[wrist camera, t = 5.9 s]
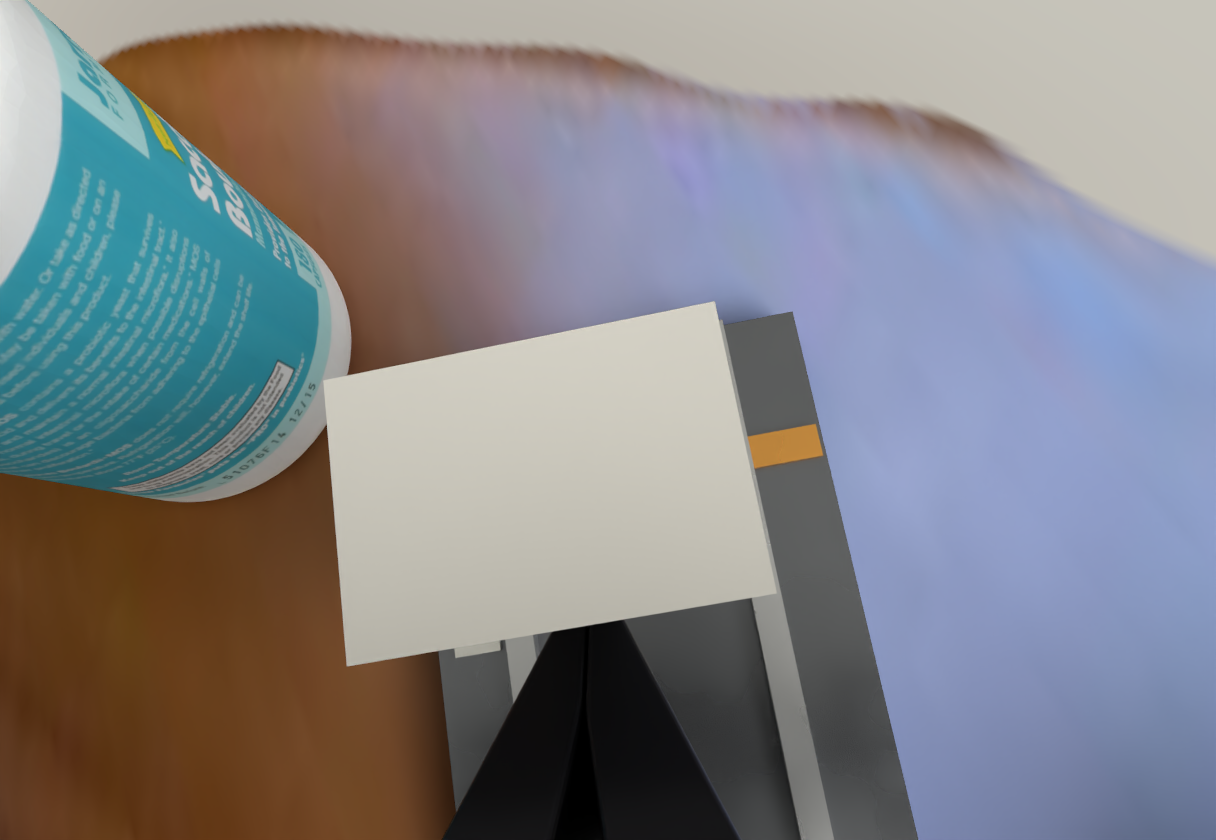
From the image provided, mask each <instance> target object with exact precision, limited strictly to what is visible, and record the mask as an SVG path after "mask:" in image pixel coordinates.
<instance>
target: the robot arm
mask: <svg viewBox="0 0 1216 840" xmlns="http://www.w3.org/2000/svg"><path fill="white" fill-rule="evenodd" d="M442 840H741V838H740V836H739V834H738V832H737V830H736V828H735V827H734V825H733V823H732V821H731V819H730V817H729V815H728V813H727V811H726V810H725V808H724V806H723V804H722V802H721V800H720V798H719V796H718V795H717V793H716V791H715V789H714V787H713V785H712V783H711V781H710V779H709V778H708V776H707V774H706V772H705V770H704V768H703V766H702V764H701V763H700V761H699V759H698V757H697V755H696V753H695V751H694V749H693V747H692V746H691V744H690V742H689V740H688V738H687V736H686V734H685V732H684V731H683V729H682V727H681V725H680V723H679V721H678V719H677V717H676V715H675V714H674V712H673V710H672V708H671V706H670V704H669V702H668V700H667V699H666V697H665V695H664V693H663V691H662V689H661V687H660V685H659V683H658V682H657V680H656V678H655V676H654V674H653V672H652V670H651V668H650V667H649V665H648V663H647V661H646V659H645V657H644V655H643V653H642V651H641V650H640V648H639V646H638V644H637V642H636V640H635V638H634V636H633V635H632V633H631V631H630V629H629V627H628V625H627V623H626V621H625V620H624V619H623V620H617V621H612V622H606V623H600V624H594V625H588V626H582V627H576V628H570V629H564V630H559V631H553V632H551V633H550V635H549V637H548V639H547V641H546V643H545V645H544V646H543V648H542V650H541V652H540V654H539V656H538V658H537V660H536V662H535V664H534V665H533V667H532V669H531V671H530V673H529V675H528V677H527V679H526V681H525V683H524V684H523V686H522V688H521V690H520V692H519V694H518V696H517V698H516V700H515V702H514V703H513V705H512V707H511V709H510V711H509V713H508V715H507V717H506V719H505V720H504V722H503V724H502V726H501V728H500V730H499V732H498V734H497V736H496V738H495V739H494V741H493V743H492V745H491V747H490V749H489V751H488V753H487V755H486V757H485V758H484V760H483V762H482V764H481V766H480V768H479V770H478V772H477V774H476V776H475V777H474V779H473V781H472V783H471V785H470V787H469V789H468V791H467V793H466V794H465V796H464V798H463V800H462V802H461V804H460V806H459V808H458V810H457V812H456V813H455V815H454V817H453V819H452V821H451V823H450V825H449V827H448V829H447V831H446V832H445V834H444V836H443V838H442Z"/></svg>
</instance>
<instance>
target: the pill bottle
mask: <svg viewBox="0 0 1216 840" xmlns="http://www.w3.org/2000/svg"><path fill="white" fill-rule="evenodd" d="M350 356H351V327H350V320H349V315H348V311H347V307H346V303H345V300H344V297H343V295H342V292H341V290H340V288H339V286H338V283H337V282H336V280H335V278H334V276H333V274H332V273H331V271H330V270H329V268H328V267H327V265H326V264H325V263H324V261H323V260H322V259H321V258H320V257H319V255H318V254H317V253H316V252H315V251H314V250H313V249H312V248H311V247H310V246H309V245H308V244H307V243H306V242H305V241H303V240H302V239H301V238H300V237H299V236H298V235H297V234H295V233H294V232H293V231H292V230H291V229H290V228H289V227H288V226H287V225H285V224H284V223H283V222H282V221H281V220H280V219H279V218H277V217H276V216H275V215H274V214H273V213H271V212H270V211H269V210H268V209H267V208H265V207H264V206H263V205H262V204H261V203H260V202H259V201H257V200H256V199H255V198H254V197H253V196H252V195H251V194H249V193H248V192H247V191H246V190H245V189H244V188H243V187H241V186H240V185H239V184H238V183H237V182H235V181H234V180H233V179H232V178H231V177H229V176H228V175H227V174H226V173H225V172H224V171H223V170H222V169H220V168H219V167H218V166H217V165H216V164H214V163H213V162H212V161H211V160H210V159H209V158H207V157H206V156H205V155H204V154H203V153H202V152H201V151H199V150H198V149H197V148H196V147H195V146H193V145H192V144H191V143H190V142H189V141H188V140H187V139H185V138H184V137H183V136H182V135H181V134H180V133H178V132H177V131H176V130H175V129H174V128H173V127H172V126H170V125H169V124H168V123H167V122H166V121H165V120H164V119H162V118H161V117H160V116H159V115H158V114H157V113H156V112H154V111H153V110H152V109H151V108H150V107H149V106H148V105H146V104H145V103H144V102H143V101H142V100H141V99H139V98H138V97H137V96H136V95H135V94H134V93H132V92H131V91H130V90H129V89H128V88H127V87H125V86H124V85H123V84H122V83H121V82H120V81H118V80H117V79H116V78H115V77H114V76H113V75H111V74H110V73H109V72H108V71H107V70H106V69H105V68H104V67H102V66H101V65H100V64H99V63H98V62H97V61H96V60H94V59H93V58H92V57H91V56H90V55H89V54H88V53H87V52H85V51H84V50H83V49H82V48H81V47H80V46H79V45H77V44H76V43H75V42H74V41H73V40H72V39H71V38H70V37H68V36H67V35H66V34H65V33H64V32H63V31H62V30H61V29H59V28H58V27H57V26H56V25H55V24H54V23H53V22H52V21H50V20H49V19H48V18H47V17H46V16H45V15H44V14H43V13H41V12H40V11H39V10H38V9H37V8H36V7H34V5H32V4H31V3H30V2H29V1H28V0H0V473H5V474H11V475H17V476H23V477H29V478H35V479H40V480H46V481H52V482H58V483H64V484H70V485H75V486H81V487H87V488H93V489H99V490H104V491H110V492H116V493H122V494H127V495H133V496H140V497H146V498H152V499H158V500H164V501H175V502H201V501H210V500H216V499H221V498H225V497H230V496H233V495H236V494H239V493H242V492H244V491H247V490H249V489H252V488H254V487H256V486H258V485H260V484H262V483H264V482H266V481H268V480H269V479H271V478H273V477H274V476H276V475H278V474H279V473H280V472H282V471H283V470H285V469H286V468H287V467H289V466H290V465H291V464H292V463H293V462H294V461H296V460H297V459H298V458H299V457H300V456H301V455H302V454H303V453H304V452H305V451H306V450H307V449H308V448H309V447H310V445H311V444H312V443H313V442H314V441H315V440H316V438H317V437H318V436H319V434H320V433H321V432H322V430H323V429H324V427H325V426H326V424H327V420H326V407H325V395H324V383H323V380H328V379H333V378H338V377H343V376H347V374H348V369H349V363H350Z"/></svg>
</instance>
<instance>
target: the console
mask: <svg viewBox="0 0 1216 840" xmlns="http://www.w3.org/2000/svg"><path fill="white" fill-rule="evenodd" d="M719 324H720V329H721V333H722V338H723V343H724V347H725V352H726V357H727V361H728V366H729V371H730V375H731V380H732V385H733V389H734V394H735V399H736V403H737V408H738V413H739V417H740V422H741V427H742V432H743V436H744V441H745V446H746V450H747V455H748V460H749V464H750V469H751V474H752V478H753V483H754V488H755V492H756V497H757V502H758V506H759V511H760V516H761V520H762V525H763V530H764V535H765V539H766V544H767V549H768V553H769V558H770V563H771V567H772V572H773V577H774V581H775V586H776V591H777V593H776V594H770V595H765V596H759V597H753V598H747V599H741V600H735V601H729V602H723V603H717V604H712V605H706V606H700V607H694V608H688V609H682V610H676V611H670V612H664V613H659V614H653V615H647V616H641V617H635V618H629V619H624V620H625V621H626V623H627V625H628V627H629V629H630V631H631V633H632V635H633V636H634V638H635V640H636V642H637V644H638V646H639V648H640V650H641V651H642V653H643V655H644V657H645V659H646V661H647V663H648V665H649V667H650V668H651V670H652V672H653V674H654V676H655V678H656V680H657V682H658V683H659V685H660V687H661V689H662V691H663V693H664V695H665V697H666V699H667V700H668V702H669V704H670V706H671V708H672V710H673V712H674V714H675V715H676V717H677V719H678V721H679V723H680V725H681V727H682V729H683V731H684V732H685V734H686V736H687V738H688V740H689V742H690V744H691V746H692V747H693V749H694V751H695V753H696V755H697V757H698V759H699V761H700V763H701V764H702V766H703V768H704V770H705V772H706V774H707V776H708V778H709V779H710V781H711V783H712V785H713V787H714V789H715V791H716V793H717V795H718V796H719V798H720V800H721V802H722V804H723V806H724V808H725V810H726V811H727V813H728V815H729V817H730V819H731V821H732V823H733V825H734V827H735V828H736V830H737V832H738V834H739V836H740V838H741V840H918V837H917V832H916V828H915V824H914V820H913V816H912V811H911V807H910V803H909V799H908V795H907V790H906V786H905V782H904V778H903V774H902V769H901V765H900V761H899V757H898V753H897V748H896V744H895V740H894V736H893V732H892V727H891V723H890V719H889V715H888V711H887V706H886V702H885V698H884V694H883V690H882V685H881V681H880V677H879V673H878V669H877V665H876V660H875V656H874V652H873V648H872V644H871V639H870V635H869V631H868V627H867V623H866V618H865V614H864V610H863V606H862V602H861V597H860V593H859V589H858V585H857V581H856V576H855V572H854V568H853V564H852V560H851V555H850V551H849V547H848V543H847V539H846V534H845V530H844V526H843V522H842V518H841V513H840V509H839V505H838V501H837V497H836V492H835V488H834V484H833V480H832V476H831V472H830V467H829V463H828V459H827V455H826V451H825V446H824V442H823V438H822V434H821V430H820V425H819V421H818V417H817V413H816V409H815V404H814V400H813V396H812V392H811V388H810V383H809V379H808V375H807V371H806V367H805V362H804V358H803V354H802V350H801V346H800V341H799V337H798V333H797V329H796V325H795V320H794V316H793V312H787V313H782V314H777V315H772V316H767V317H762V318H757V319H752V320H747V321H742V322H737V323H732V324H727V325H723V320H719ZM550 633H551V632H547V633H541V634H535V635H529V636H523V637H517V638H511V639H506V640H500V641H494V642H488V643H482V644H476V645H470V646H464V647H458V648H453V649H447V650H441V651H438V653H439V662H440V671H441V680H442V689H443V698H444V707H445V716H446V725H447V734H448V744H449V753H450V762H451V771H452V780H453V789H454V798H455V807H456V812H457V810H458V808H459V806H460V804H461V802H462V800H463V798H464V796H465V794H466V793H467V791H468V789H469V787H470V785H471V783H472V781H473V779H474V777H475V776H476V774H477V772H478V770H479V768H480V766H481V764H482V762H483V760H484V758H485V757H486V755H487V753H488V751H489V749H490V747H491V745H492V743H493V741H494V739H495V738H496V736H497V734H498V732H499V730H500V728H501V726H502V724H503V722H504V720H505V719H506V717H507V715H508V713H509V711H510V709H511V707H512V705H513V703H514V702H515V700H516V698H517V696H518V694H519V692H520V690H521V688H522V686H523V684H524V683H525V681H526V679H527V677H528V675H529V673H530V671H531V669H532V667H533V665H534V664H535V662H536V660H537V658H538V656H539V654H540V652H541V650H542V648H543V646H544V645H545V643H546V641H547V639H548V637H549V635H550Z"/></svg>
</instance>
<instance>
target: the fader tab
mask: <svg viewBox="0 0 1216 840" xmlns="http://www.w3.org/2000/svg"><path fill="white" fill-rule="evenodd" d="M323 383H324V395H325V407H326V420H327V432H328V444H329V456H330V468H331V480H332V492H333V504H334V517H335V529H336V541H337V553H338V565H339V577H340V589H341V601H342V614H343V626H344V638H345V650H346V662H347V666H353V665H358V664H364V663H370V662H376V661H382V660H388V659H394V658H400V657H405V656H411V655H417V654H423V653H429V652H435V651H441V650H447V649H453V648H458V647H464V646H470V645H476V644H482V643H488V642H494V641H500V640H506V639H511V638H517V637H523V636H529V635H535V634H541V633H547V632H553V631H559V630H564V629H570V628H576V627H582V626H588V625H594V624H600V623H606V622H612V621H617V620H623V619H629V618H635V617H641V616H647V615H653V614H659V613H664V612H670V611H676V610H682V609H688V608H694V607H700V606H706V605H712V604H717V603H723V602H729V601H735V600H741V599H747V598H753V597H759V596H765V595H770V594H776V593H777V591H776V586H775V581H774V577H773V572H772V567H771V563H770V558H769V553H768V549H767V544H766V539H765V535H764V530H763V525H762V520H761V516H760V511H759V506H758V502H757V497H756V492H755V488H754V483H753V478H752V474H751V469H750V464H749V460H748V455H747V450H746V446H745V441H744V436H743V432H742V427H741V422H740V417H739V413H738V408H737V403H736V399H735V394H734V389H733V385H732V380H731V375H730V371H729V366H728V361H727V357H726V352H725V347H724V343H723V338H722V333H721V329H720V324H719V319H718V314H717V310H716V305H715V301H714V302H709V303H704V304H699V305H694V306H689V307H684V308H679V309H674V310H669V311H664V312H659V313H654V314H649V315H644V316H640V317H635V318H630V319H625V320H620V321H615V322H610V323H605V324H600V325H595V326H590V327H585V328H580V329H575V330H570V331H565V332H560V333H556V334H551V335H546V336H541V337H536V338H531V339H526V340H521V341H516V342H511V343H506V344H501V345H496V346H491V347H486V348H481V349H476V350H472V351H467V352H462V353H457V354H452V355H447V356H442V357H437V358H432V359H427V360H422V361H417V362H412V363H407V364H402V365H397V366H392V367H387V368H383V369H378V370H373V371H368V372H363V373H358V374H353V375H348V376H343V377H338V378H333V379H328V380H323Z"/></svg>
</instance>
